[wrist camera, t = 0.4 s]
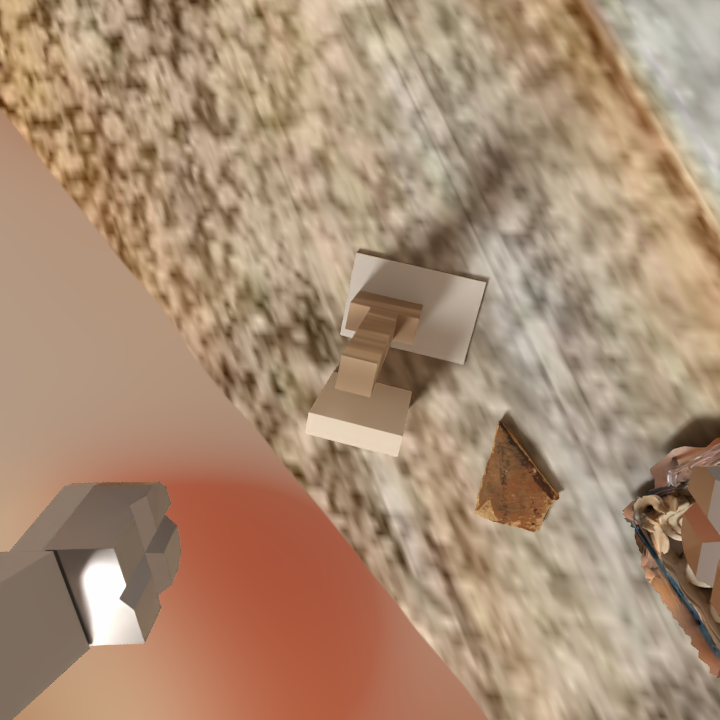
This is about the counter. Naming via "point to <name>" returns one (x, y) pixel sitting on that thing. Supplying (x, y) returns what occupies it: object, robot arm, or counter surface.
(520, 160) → the counter surface
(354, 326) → the stacked wooden blocks
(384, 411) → the slab tile
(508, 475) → the shard
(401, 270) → the rest mat
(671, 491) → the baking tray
